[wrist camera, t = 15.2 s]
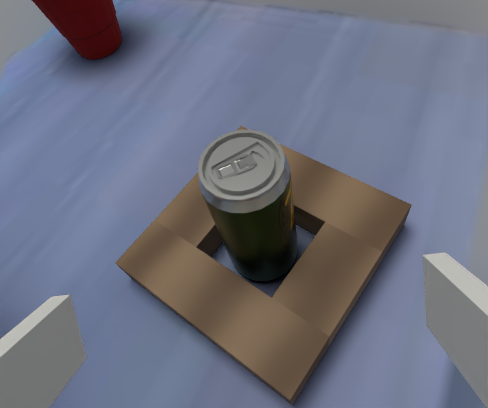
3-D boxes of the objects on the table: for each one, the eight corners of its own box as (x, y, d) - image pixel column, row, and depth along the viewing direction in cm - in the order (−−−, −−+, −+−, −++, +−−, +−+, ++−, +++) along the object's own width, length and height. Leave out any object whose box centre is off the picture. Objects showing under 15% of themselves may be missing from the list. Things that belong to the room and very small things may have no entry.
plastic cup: (45, 52, 53) (-19, -43, 43) (112, 11, 55) (67, -87, 45) (83, 87, 47) (21, -12, 37) (155, 40, 50) (115, -64, 40)
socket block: (130, 277, 33) (115, 263, 30) (245, 147, 38) (240, 125, 36) (292, 405, 26) (289, 400, 24) (404, 224, 32) (411, 204, 29)
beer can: (245, 295, 31) (210, 218, 20) (223, 238, 33) (182, 147, 23) (309, 268, 31) (305, 180, 21) (281, 214, 34) (266, 114, 24)
